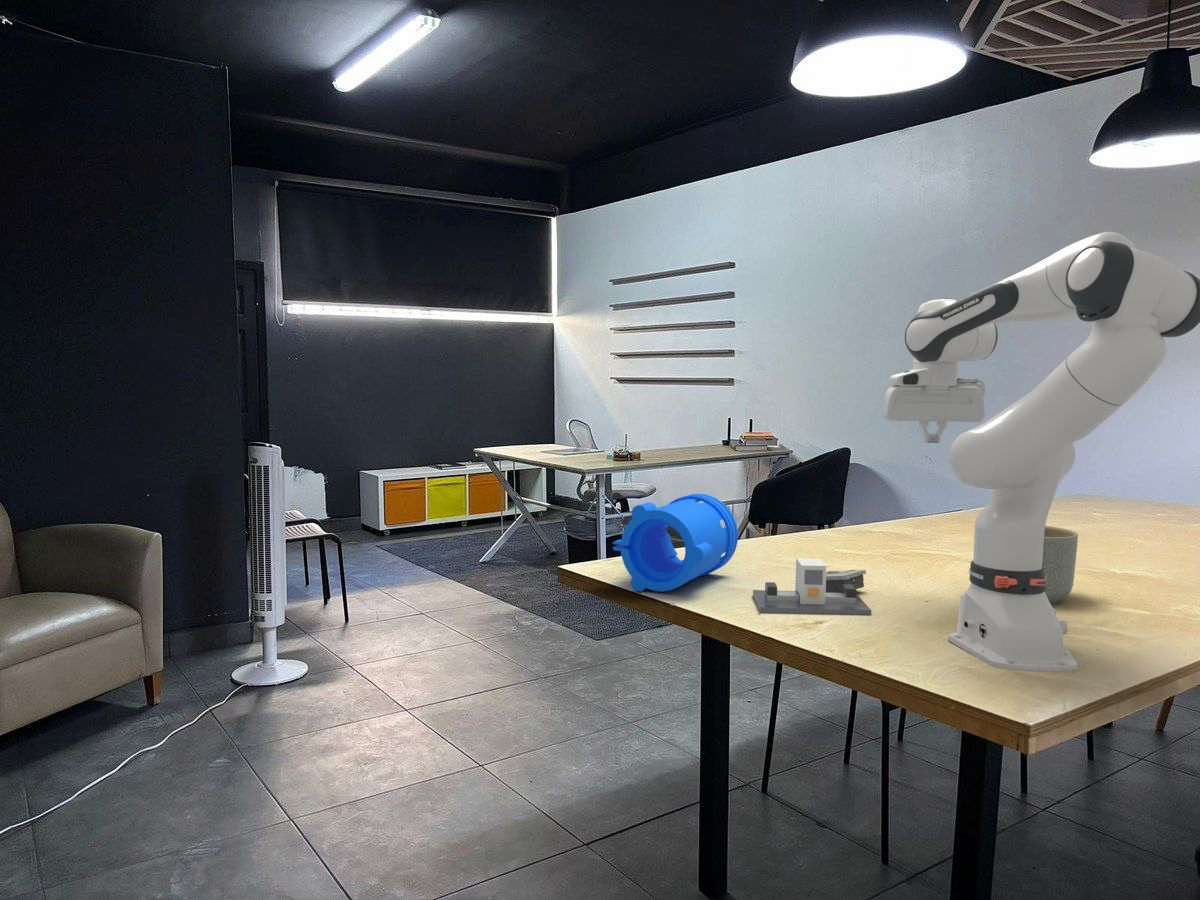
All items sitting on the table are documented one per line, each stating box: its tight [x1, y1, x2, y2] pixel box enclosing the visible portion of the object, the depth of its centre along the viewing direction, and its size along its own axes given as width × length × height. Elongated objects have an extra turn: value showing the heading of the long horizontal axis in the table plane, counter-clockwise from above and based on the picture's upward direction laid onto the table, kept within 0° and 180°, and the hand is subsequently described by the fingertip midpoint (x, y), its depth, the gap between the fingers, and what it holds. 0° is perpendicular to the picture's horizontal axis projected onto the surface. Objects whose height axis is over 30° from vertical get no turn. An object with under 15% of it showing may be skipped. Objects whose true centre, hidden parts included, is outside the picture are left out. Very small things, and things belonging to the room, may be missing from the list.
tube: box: [612, 493, 739, 593], centre depth 199 cm, size 25×22×19 cm
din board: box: [752, 581, 872, 616], centre depth 179 cm, size 14×22×4 cm, turn 86°
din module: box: [794, 557, 827, 605], centre depth 178 cm, size 8×5×8 cm, turn 176°
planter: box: [1042, 525, 1079, 605], centre depth 186 cm, size 17×17×15 cm
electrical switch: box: [826, 569, 867, 592], centre depth 190 cm, size 9×5×9 cm
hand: (931, 442), depth 182 cm, fingers closed
